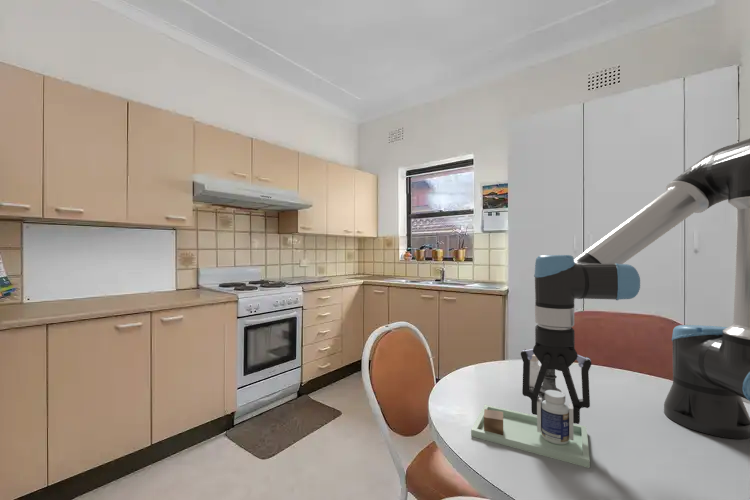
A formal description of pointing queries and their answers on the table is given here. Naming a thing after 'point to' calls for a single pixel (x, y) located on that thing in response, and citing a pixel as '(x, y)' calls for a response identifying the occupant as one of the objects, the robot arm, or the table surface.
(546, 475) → the table surface
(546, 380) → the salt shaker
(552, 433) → the pill bottle
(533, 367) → the salt shaker
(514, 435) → the tray
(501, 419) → the walnut block
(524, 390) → the robot arm
